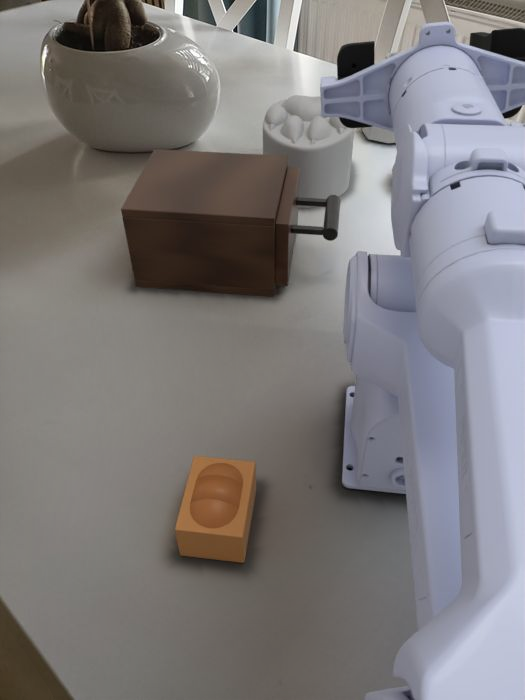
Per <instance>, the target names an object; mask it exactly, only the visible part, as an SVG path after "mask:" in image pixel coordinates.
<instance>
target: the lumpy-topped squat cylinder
mask: <svg viewBox="0 0 525 700" xmlns="http://www.w3.org/2000/svg"><path fill="white" fill-rule="evenodd" d="M355 129H356V128H348V127H346V126H344V125H343V124H342V123H341V121H340V119H339V117H322V115H321V96H310V95H299V94H295V95H292V96H290V97H288V98H285V99H281V100H278V101H276V102H274V103H273V104H271V106H269V107H268V109H267V111H266V112H265V115H264V119H263V121H262V155H280V156H288V167H295V168H299V197H302V198H319V199H327V198H328V197H329V196H330V195H337V196H338V197H339V198H340V197H341V196H342V195H344V194H345V193H346V192H347V191H348V189H349V186H350V181H351V172H352V171H351V170H352V161H353V160H352V159H353V152H354V151H353V150H354V137H355ZM316 207H317V206H300V205H298V209H309V208H316Z"/></svg>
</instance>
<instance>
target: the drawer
mask: <svg viewBox="0 0 525 700" xmlns="http://www.w3.org/2000/svg"><path fill="white" fill-rule="evenodd" d="M298 205H300V206H317V207H318V208H319V207H320V208H324V216H323V217H324V218H323V225H322V226H319V225H317V226H316V225H302V224H301V225H300V224H299V208H298ZM340 214H341V198H340V196H339V197H338V196H337V195H330V196H329V197H328V198H327V199H319V198H302V197H299V168H295V167H287V172H286V176H285V181H284V186H283V190H282V195H281V199H280V204H279V209H278V213H277V218H276V223H275V285H276V286H278V287H280V286H281V287H288V286H289V281H290V280H289V279H290V275H291V274H290V273H291V268H292V262H293V257H294V251H295V243H296V238H297V235H312V236H322V237H323V238H324V239H325V241H331V242H332V241H334V240H336V239H337V238H338V236H339V226H340Z"/></svg>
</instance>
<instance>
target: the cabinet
mask: <svg viewBox="0 0 525 700" xmlns="http://www.w3.org/2000/svg"><path fill="white" fill-rule="evenodd" d="M287 167H288V156H280V155H263V154H260V153H259V154H256V153H237V152H220V151H219V152H217V151H198V150H179V149H159V148H158V149H157V148H154V149H153V151H152V153H151V155H150V156H149V158H148V160H147V161H146V163H145V165H144V167H143V169H142V170H141V172H140V174H139V176H138V177H137V179H136V181H135V182H134V185H133V186H132V188H131V189H130V192H129V193H128V196H127V197H126V199H125V201H124V202H123V204H122V206H121V208H120V212H121V216H122V223H123V229H124V232H125V238H126V244H127V248H128V253H129V259H130V264H131V269H132V274H133V279H134V281H133V282H134V285H135V287H137V288H138V287H139V288H154V289H167V290H178V291H179V290H180V291H194V292H206V293H207V292H208V293H220V294H233V295H246V296H259V297H260V296H261V297H275V294H276V291H277V285H275V223H276V218H277V213H278V209H279V204H280V199H281V195H282V190H283V186H284V181H285V176H286V172H287Z"/></svg>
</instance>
